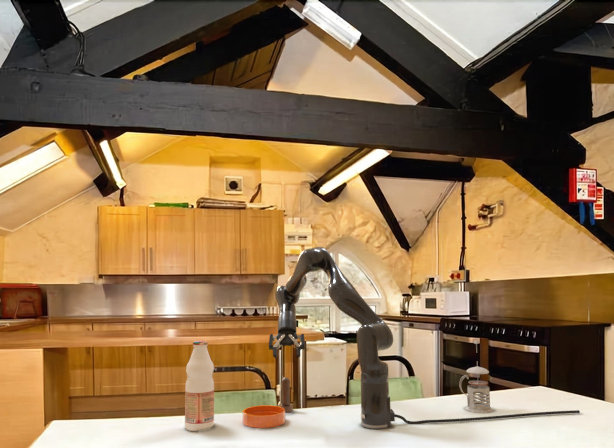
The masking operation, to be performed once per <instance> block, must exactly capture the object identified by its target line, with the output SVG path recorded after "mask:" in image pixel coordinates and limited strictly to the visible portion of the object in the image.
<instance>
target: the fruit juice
mask: <svg viewBox="0 0 614 448" xmlns="http://www.w3.org/2000/svg"><path fill="white" fill-rule="evenodd" d="M208 344H209V341H208V340H204V339H200V340H198V339H197V340H193V341H192V347H193V349H192V351H191V355H190V357H189V360H188V362H187V363H186V367H185V373H186V376H187V378H186V381H185V385H184V387H185V388H184V392H185V393H184V402H185V403H184V428H185V429H186V430H187V431H189V432H191V431H192V432H199V431H200V430H204V429H205V430H206V429H210V428H212V427H213V426H214V424H215V380H214V378H213V375H214V371H215V365H214V362H213V360H212V359H211V356H210V353H209V350H208Z"/></svg>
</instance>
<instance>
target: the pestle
mask: <svg viewBox="0 0 614 448" xmlns="http://www.w3.org/2000/svg"><path fill="white" fill-rule="evenodd" d="M280 384H281V402H280V403H278V406H279V407H282V408H284V409H285V414H289V413H293V412H294V404H293V403H291V379H290V378H289V377H283V378H282V379H281V381H280Z"/></svg>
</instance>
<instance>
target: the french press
mask: <svg viewBox="0 0 614 448" xmlns="http://www.w3.org/2000/svg"><path fill="white" fill-rule="evenodd" d="M473 344H474V345H475V347H476V348H475V349H476V352H478V344H480V341H479V340H478V339H477V340H476V339H475V340H474V341H473ZM478 363H479V362H476V366H473V367H469V368H468V369H466V373H467V374H464V375H462V376H461V377H460V379H459V382H458V383H459V384H458V385H459V390H460V392H461V393H462V394H464V395H465V396H466V403H467V406H466V407H465V408H464V409H465V411H468V412H472V413H476V414H477V413H478V414H489V413H492V412H494V409H493V408H492V407H491V399H490V398H491V396H490V395H491V394H490V393H491V392H490V391H491V390H490V386H489V382H488V381H484V380H478V379H477V380H474V379H473V380H469V377H468V374H472V375H477V377H479V375H488V374H489V373H490V371H489V370H488V369H487V368H484V367H481V366H478ZM465 378H466V380H469V381H468V382H467V383H468V385H467V387H466V388H467V393H465V392H464V391H463V388H462V387H461V384H462V382H463V380H464V379H465Z"/></svg>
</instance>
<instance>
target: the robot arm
mask: <svg viewBox="0 0 614 448" xmlns="http://www.w3.org/2000/svg"><path fill="white" fill-rule="evenodd" d="M320 271H322V272H324V273H325V274H326V276H327V278H328V287H327V291H328V296H329V298H330V300H331V301H332V302H333V304H334V305H335V306H336V307H337V309H338V310H339V311H340V312H342V313H343V314H345V315H346V316H348V317H350V318H351V319H353V320H354V321H356V322H357V323H359V324H360V326H359V327H358V329H357V332H356V347H357V348H356V349H357V361H358V364H359V368H360V426H362V427H363V428H366V429H371V430H372V429H373V430H380V429H388V428H392V422H396V418H398V419H400V420H402V421H403V422H404V423H406V424H409V425H421V424H432V423H433V424H434V423H435V424H436V423H455V422H456V423H457V422H471V421H485V420H486V421H487V420H497V419H508V418H520V417H521V418H522V417H532V416H547V415H563V414H565V415H566V414H580V413H581V411H580V410H579V409H576V410H574V409H573V410H553V411H540V412H539V411H538V412H526V413H515V414H513V413H512V414H501V415H490V416H478V417H463V418H445V419H442V418H441V419H423V420H416V421H415V420H414V421H413V420H408V419H407V418H406V417H404V416H402V415H400V414H396V412H395V411H394V410H393V409H392V408H391V396H390V386H389V383H390V382H389V364H388V363H387V362H385V361H383V360H381V359H380V358H379V352H380V351H386V350H388V349H390V348H391V347H392V346H393V343H394V334H393V332H392V330H391V328H390V327H389V325H388V324H387V323H386V321H384V320H383V319H382V318H381V317H380V316H379V315H378V314H377V313H376V312H375V311H374V310H373V309H372V308H371V306H370V305H369V304H368V303H367V302H366V301H365V299H364V298H363V297H362V296H361V294H360V293H359V292H358V290H357V289H356V288H355V287H354V285H353V284H352V283H351V282H350V281H349V279H348V278H347V277H346V276H345V275H344V273H343V272H342V270H341V269H340V268H339V266H338V265H337V263H336V262H335V259H333V257H332V255H331V253H330V252H329V251H328V249H327V248H325V247H323V246H316V247H310V248H306V249H304V250H302V252H300V254H299V256H298V259H297V261H296V263H295V267H294V270H293V272H292V274H291V276H290V277H289V278H288V280H287V281H286V283H285V285H280V286H278V287H277V288H276V291H275V295H274V296H275V301H276V303H277V305H278V306H277V307H278V320H277V334H276V335H274V334H273V333H270V334H269V339H268V350H270V351H272V357H273V358H274V359H277V358H278V350H279V349H280V348H281V347H282V346H283V347H290V346H292V347H293V348H295V349H296V359H300V358H299V357H301V350H305V349H306V341H305V334H304V333H301V334H297V308H296V305H297V304H298V302H299V301H300V297H301V292H302V291H303V289H304V288H305V287H306V285H307V281H308V277H307V274H309V273H315V272H320ZM275 340H276V342H275ZM298 340H299V341H300V343H301V344H300V343H299V342H298ZM274 342H275V343H274Z"/></svg>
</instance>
